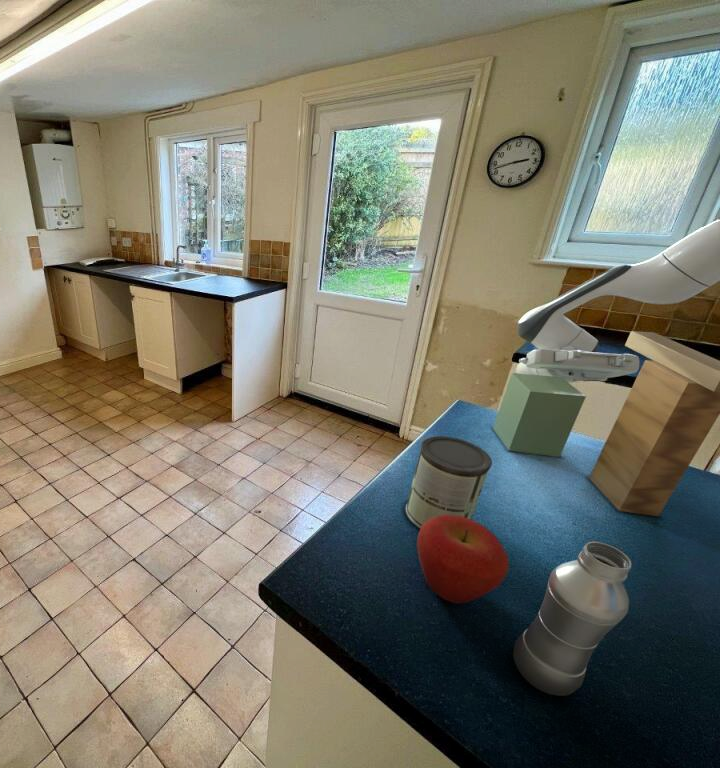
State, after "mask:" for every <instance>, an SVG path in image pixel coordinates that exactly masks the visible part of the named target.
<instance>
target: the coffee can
mask: <svg viewBox="0 0 720 768" xmlns="http://www.w3.org/2000/svg"><path fill="white" fill-rule="evenodd" d="M419 450H420V451H419V455H418V459H417V463H416V466H415V471H414V475H413V478H412V482H411V487H410V491H409V495H408V499H407V503H406V505H405V514H406V516H407V518H408V519H409V521H410V522H411V523H412V524H413V525H414V526H416V527H417V528H418V529H419V530H420V529H421V526H422V525H423V524H424V523H425V522H426V521H428V520H429V519H431V518H434V517H438V516H441V515H456V516H462V517H464V518H467V519H470V520H473V515H474V513H475V510H476V507H477V505H478V501H479V498H480V496H481V492H482V489H483V487H484V484H485V482H486V478H487V476H488V473H489V470H490V469H491V467H492V464H493V460H492V458H491V456H490V455H489V454H488V453H487V452H486V451H485V450H484V449H482V448H481V447H480V446H478V445H476V444H474V443H472V442H470V441H467V440H464V439H461V438H456V437H452V436H445V435H436V436H435V435H434V436H431V437H430V436H429V437H427V438H425V439H424V440H422V441H421V444H420V449H419Z"/></svg>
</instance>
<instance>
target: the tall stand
mask: <svg viewBox="0 0 720 768" xmlns="http://www.w3.org/2000/svg"><path fill="white" fill-rule="evenodd" d="M719 417H720V392H713V391H712V390H710V389H708V388H706V387H704V386H702V385H700V384H698V383H696V382H694V381H692V380H690V379H688V378H686V377H684V376H683V375H681V374H679V373H677V372H675V371H673V370H671V369H669V368H667V367H665V366H663V365H661V364H659V363H657V362H655V361H654V360H651V359H650V360H649V359H645V360H644V362H643V364H642V366H641V368H640V370H639V372H638V374H637V376H636V378H635V380H634V383H633V385H632V386H631V389H630V391H629V393H628V395H627V397H626V399H625V401H624V403H623V406H622V408H621V410H620V411H619V414H618V416H617V418H616V420H615V422H614V424H613V426H612V428H611V430H610V432H609V434H608V437H607V439H606V440H605V443H604V444H603V447H602V449H601V451H600V452H599V454H598V457H597V459H596V461H595V463H594V466H593V468H592V470H591V472H590V473H589V475H588V479H589V480H590V481H591V482H592V483H593V485H595V486H596V488H597V489H598V490H599V491H600V492H601V493H602V494H603V495H604V496H605V498H606V499H607V500H608V501H609V502H610V503H611V504H612V505H613V506H614V507H615V508H616V509H617V510H618V512H625V513H631V514H637V515H644V516H653V517H659V516H660V514H661V512H662V511H663V510H664V508H665V506H666V504H667V503H668V501H669V499H670V498H671V496H672V494H673V492H674V491H675V489H676V488H677V486H678V485H679V483H680V481H681V479H682V478H683V476H684V474H685V473H686V471H687V469H688V468H689V466H690V464H691V463H692V461H693V459H694V458H695V456H696V454H697V453H698V451H699V449H700V448H701V446H702V444H703V443H704V441H705V439H706V438H707V436H708V434H709V433H710V431H711V430H712V427H713V426H714V424H715V423H716V422H717V419H718V418H719Z"/></svg>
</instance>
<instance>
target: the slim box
mask: <svg viewBox="0 0 720 768" xmlns="http://www.w3.org/2000/svg"><path fill="white" fill-rule="evenodd" d="M624 346H625V347H626V348H628V349H631V350H632V351H634V352H636V353H638V354H640V355H642V356H644V357H645V358H648V359H650V360H651V361H655V362H657V363H659V364H661V365H663V366H665V367H667V368H669V369H671V370H673V371H675V372H677V373H679V374H681V375H683V376H684V377H686V378H688V379H690V380H692V381H694V382H696V383H698V384H700V385H702V386H704V387H706V388H708V389H710V390H712V391H713V392H720V360H718V359H716V358H714V357H711V356H709V355H707V354H705V353H702V352H700V351H698V350H695V349H693V348H690V347H689V346H686V345H684V344H682V343H680V342H677V341H675V340H672V339H670V338H667V337H665V336H663V335H660V334H659V333H656V332H653V331H638V330H637V331H636V330H631V331H630V333H629V335H628V337H627V340H626V341H625V344H624Z"/></svg>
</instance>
